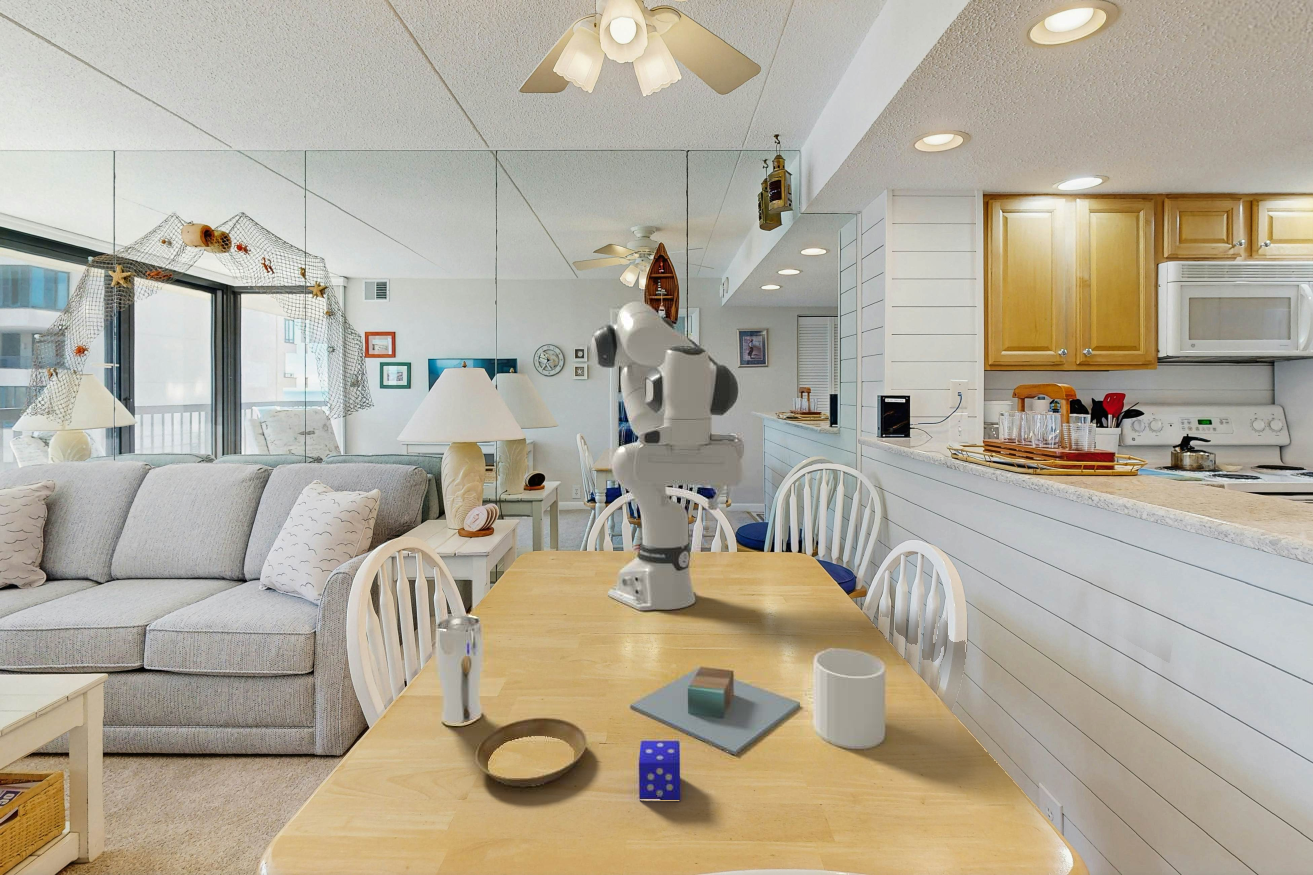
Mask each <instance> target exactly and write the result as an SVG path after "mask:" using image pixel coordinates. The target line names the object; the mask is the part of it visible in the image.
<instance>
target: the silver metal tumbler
mask: <svg viewBox="0 0 1313 875" xmlns="http://www.w3.org/2000/svg"><path fill="white" fill-rule="evenodd" d="M481 622H482V621H481V619H480V617H477V616H476V615H475V616H474V615H456V616H455V615H454V616H452V617H447V618H444V619H442V620H440V621H439V622H437V623H436V625H435V629H436V630H435V662H436V668H437V674H438V678H439V682H440V686H441V691H442V712H441V716H442V719H443V720H444V721H446V722H450V723H464V722H468V721H470V720H473V719H475V718H477V717H478V716H479V715H480V714H481V713H482V714H483V708H482V704H481V700H480V681H481V674H482V668H483V659H484V657H483V656H484V642H483V632H482V624H481Z"/></svg>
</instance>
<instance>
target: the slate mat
mask: <svg viewBox="0 0 1313 875" xmlns="http://www.w3.org/2000/svg"><path fill="white" fill-rule="evenodd" d="M700 667H701V666H699V667H697V668H696V669H693V670H692V671H690V672H688V673H686V674H685V675H683V676H681V677H678V678H677V679H675V680H673V681H672V682H670V683H667V684H666V685H663V686H662V687H661V688H658V689H657V690H655V691H653V692H651V693H649V694H647V695H646V696H643V697H642V698H640V699H638V700H636V701H634V702H633V703H630V705H629V707H630V709H631V710H633V711H636V712H637V713H640V714H641V715H644V716H646V715H647V717H648V718H651V719H652V720H655V721H657V720H658V721H657V722H660V723H662V724H665V725H667V726H668V725H669V727H671V728H673V729H674V730H675V729H676V730H678V731H679V732H682V733H684V734H687V735H688V736H690V735H691V736H690V737H692V736H693V738H695V739H697V738H698V739H697V740H699V739H700V740H699V741H701V740H702V742H703V741H705V742H704V743H706V742H707V743H706V744H708V743H710V744H712V745H714V746H716V747H715V748H717V747H718V748H717V749H719V748H721V749H723V750H725V751H728V752H729V753H728V752H727V753H728V754H730V753H731V754H730V755H732V754H734V755H735V756H737V755H738V754H739V753H741V752H742V751H743V750H744V749H746V748H747V747H748V746H749V745H751V744H752V743H753V742H755V741H756V740H757V739H759V738H760V737H761V736H763V735H764V734H766V732H768V731H769V730H771V729H772V728H773V727H774V726H776V725H777V724H779V723H780V722H781V721H782V720H783V719H785V718H786V717H788V716H789V715H790V714H792V713H793V712H794V711H795V710H797V709H798V708H799V707H801V702H799V701H798V700H795V699H791V698H789V697H785V696H783V695H780V694H777V693H774V692H772V691H768V690H767V689H764V688H761V687H758V686H755V685H752V684H750V683H747V682H744V681H741V680H737V679H735V678H734V695H733V697H732V700H731V702H730V704H729V707H728V709H727V711H726V713H725V716H724V718H723V719H721V718H714V717H708V716H701V715H695V714H689V713H688V687H689V685H690V684H691V682H692V680H693V679H694V677H695V675H696V674H697V672H698V670H699V669H700ZM710 744H709V745H710ZM712 745H711V746H712ZM714 746H713V747H714ZM745 747H746V748H745ZM721 749H720V750H721ZM742 749H743V750H742ZM723 750H722V751H723ZM741 750H742V751H741ZM725 751H724V752H725ZM738 752H739V753H738ZM737 753H738V754H737ZM734 755H733V756H734Z"/></svg>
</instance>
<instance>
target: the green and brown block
mask: <svg viewBox="0 0 1313 875" xmlns="http://www.w3.org/2000/svg"><path fill="white" fill-rule="evenodd" d="M699 667H700V669H699V670H698V672H697V674H696V675H695V677H694V679H693V680H692V682H691V684H690V685H689V687H688V713H689V714H695V715H701V716H708V717H714V718H721V719H723V718H724V716H725V713H726V711H727V709H728V707H729V704H730V702H731V700H732V697H733V695H734V679H735V678H734V673H735V672H734V670H730V669H724V668H723V669H722V668H715V667H709V666H708V667H707V666H699Z"/></svg>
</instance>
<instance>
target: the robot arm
mask: <svg viewBox="0 0 1313 875" xmlns="http://www.w3.org/2000/svg"><path fill="white" fill-rule="evenodd" d="M590 342H591V344H590V346H591V349H590V350H591V353H592V355H593V358H594V359H595V361H596V363H597V365H599V366H601V367H602V368H608V369H610V368H612V369H613V368H614V367H624V368H623V370H621V373H620V388H621V389H620V390H621V396H622V400H623V405H624V408H625V409H624V410H625V412H626V416H627V420H628V423H629V427H630V429H631V430H632V432H633V433H634V435H636V436H637V437H638V441H636V442H630V443H627V444H624V445H621V446H619V447H618V448H617V449H616V451H615V452H614V454H613V456H612V460H611V470H612V475H613V476H614V479H615V480H616V481H617V483H619V485H620V486H622V487H623V488H625V489H626V490H627V491H628V492H629V493H630V494H631V495H632V497H633V498H634V500H635V502H636V504H637V505H638V508H639V512H640V519H641V532H642V535H641V536H642V542H641V543H637V544H635V545H633V547H635V548H634V549H633V550H634V551H635V550H638V552H637V556H636V557H635V558H634V559H632V561H630V562H629V563H627V564H626V565H625V566H623V568H621V569H620V571H619V572H618V575H617V582H616V584H617V585H615V586H614V587H612V588H610V589H609V590H608V592H607V596H608V595H609V596H608V597H609V598H611V599H614V600H616V601H619V602H620V603H623V604H624V605H627V606H629V607H631V608H633V609H636V610H638V611H651V610H652V611H653V610H654V611H655V610H662V611H663V610H667V611H669V610H679V609H683V608H686V607H688V606H691V605H693V604H695V602H696V597H695V596H696V595H695V593H694V590H693V583H692V577H691V571H690V570H691V569H690V560H691V543H690V542H689V514H688V512H687V510H686V509H685V507H684V506H683V505H682V504H680V503H679V502H676V501H675V500H673V499H671V498H669V496H668V495H667V490H666V488H667V487H672V486H686V485H692V486H693V485H694V486H713V491H714V492H716V493H715V494H714V497H713V498H709V499H707V504H708V506H707V509H708V510H710V511H712V510H713V511H714V510H715V511H717V510H718V506H719V505H718V502H719V498H720V497H721V496H722V494H723V492H724V491H725V490H724V489H725V487H738V486H739V485H740V484H741V483H742V482H743V480H744V476H743V475H744V473H743V472H744V471H743V463H742V458H743V456H744V454H745V446H744V445H745V444H744V442H743V440H742V438H740V437H737V436H736V435H735V434H715V433H714V434H713V433H712V428H713V426H712V416H723V415H725V414H726V413H727V412H728V411H729V410H730V409H732V407H734V405H735V404H736V402H737V399H738V397H739V396H738V395H739V386H738V382H737V379H736V376H735V375H734V373H733V372H732V370H730V369H729V368H728V367H727V366H726V365H725V364H720V363H718V362H717V361H715V359H713V358H712V357H711V356H710V355H709V354H708V351H707V350H705V349H704V348H701V347H700V345H698V343H696V342H695V341H694V340H693V339H691V338H689V337H687V336H685V335H684V334H682V333H680V332H678V331H677V330H676V328H675V326H674V323H673V321H671V320H670V319H669V318H668V317H662V316H661V315H659V313H658V312H657V311H656V310H655V309H654V308H652V307H651V306H650V305H648V304H647V303H645V302H643V301H631V302H628V303H626V304H624V305H623V306H622V307H621V309H620V310H619V312H618V314H617V318H616V323H613V324H605V325H603V326H602V327H599V328H598V329H595V331H594V332H593V333H592V338H591V341H590Z"/></svg>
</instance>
